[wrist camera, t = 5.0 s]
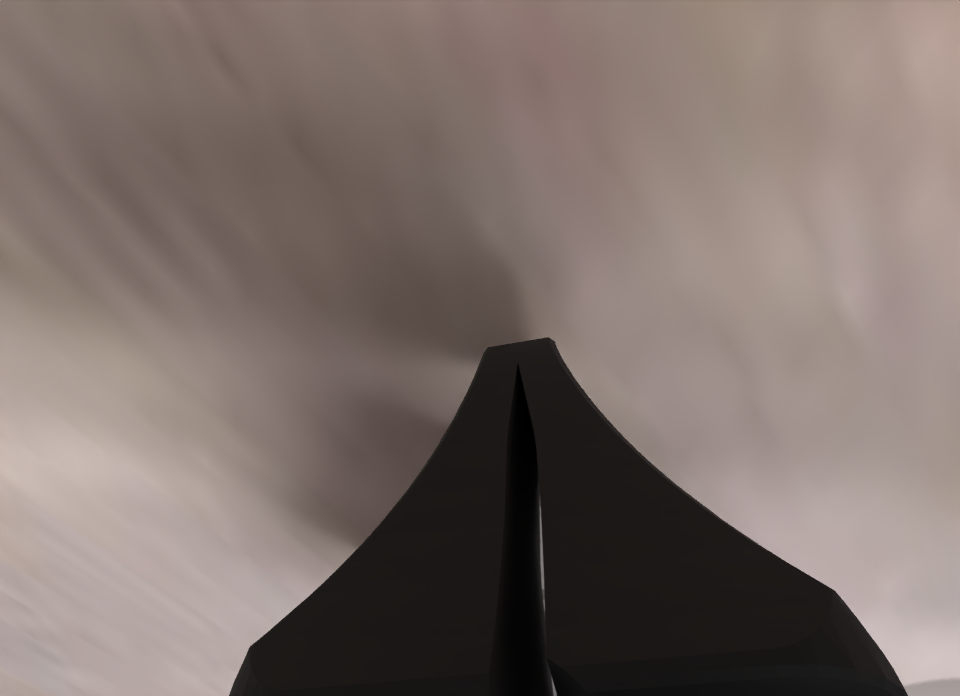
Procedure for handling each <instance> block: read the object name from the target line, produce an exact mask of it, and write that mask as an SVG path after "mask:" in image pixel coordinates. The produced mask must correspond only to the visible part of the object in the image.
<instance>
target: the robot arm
mask: <svg viewBox="0 0 960 696" xmlns="http://www.w3.org/2000/svg"><path fill="white" fill-rule="evenodd" d="M540 508H541V524H542V545H543V567H544V597H545V613H544V603H543V594H542V582H541V563H540ZM551 676H552V677H551ZM552 679H553V683H554V686H555V690H556V693H557V696H908V695H907V693H906V691H905V689H904V687H903V685H902V683H901V682H900V680H899V678H898V676H897V674H896V672H895V671H894V669H893V667H892V666H891V664H890V663H889V661H888V660H887V658H886V657H885V655H884V654H883V652H882V651H881V650H880V648H879V647H878V645H877V644H876V643H875V641H874V640H873V639H872V637H871V636H870V635H869V633H868V632H867V631H866V629H865V628H864V627H863V625H862V624H861V623H860V621H859V620H858V619H857V617H856V616H855V615H854V614H853V612H852V611H851V610H850V609H849V607H848V606H847V605H846V604H845V602H844V601H843V600H842V599H841V597H840V596H839V595H838V594H837V593H836V591H834V590H833V589H831V588H829V587H828V586H826V585H824V584H823V583H821V582H819V581H818V580H816V579H814V578H812V577H811V576H809V575H807V574H806V573H804V572H802V571H801V570H799V569H797V568H796V567H794V566H792V565H791V564H789V563H787V562H786V561H784V560H782V559H781V558H779V557H778V556H776V555H774V554H773V553H771V552H770V551H768V550H766V549H765V548H763V547H762V546H760V545H759V544H757V543H756V542H754V541H753V540H751V539H750V538H748V537H747V536H745V535H744V534H742V533H741V532H739V531H738V530H736V529H735V528H734V527H732V526H731V525H729V524H728V523H726V522H725V521H723V520H722V519H721V518H719V517H718V516H717V515H715V514H714V513H713V512H711V511H710V510H709V509H707V508H706V507H705V506H703V505H702V504H701V503H699V502H698V501H697V500H695V499H694V498H693V497H692V496H690V495H689V494H688V493H686V492H685V491H684V490H682V489H681V488H680V487H678V486H677V485H676V484H675V483H673V482H672V481H671V480H670V479H669V478H667V477H666V476H665V475H664V474H663V473H662V472H661V471H659V470H658V469H657V468H656V467H655V466H654V465H652V464H651V463H650V462H649V461H648V460H647V459H646V458H645V457H644V456H643V455H642V454H641V453H639V452H638V451H637V450H636V449H635V448H634V447H633V446H632V445H631V444H630V443H629V442H628V441H627V440H626V439H625V438H624V437H623V436H622V435H621V434H620V433H619V432H618V431H617V430H616V428H615V427H614V426H613V425H612V424H611V423H610V422H609V421H608V420H607V418H606V417H605V416H604V415H603V414H602V413H601V412H600V410H599V409H598V408H597V407H596V406H595V404H594V403H593V402H592V401H591V399H590V398H589V397H588V395H587V394H586V393H585V392H584V390H583V389H582V388H581V386H580V385H579V384H578V382H577V381H576V379H575V378H574V377H573V375H572V374H571V372H570V370H569V369H568V367H567V366H566V364H565V363H564V361H563V359H562V357H561V355H560V353H559V351H558V349H557V347H556V344H555V341H553V340H552V339H550V338H549V337H548V338H542V339H536V340H530V341H524V342H518V343H512V344H506V345H500V346H494V347H488V348H487V349H486V350H485V352H484V353H483V356H482V359H481V361H480V364H479V366H478V369H477V371H476V374H475V376H474V378H473V381H472V383H471V385H470V387H469V389H468V392H467V394H466V396H465V397H464V399H463V401H462V403H461V405H460V407H459V409H458V411H457V413H456V415H455V417H454V419H453V421H452V423H451V424H450V426H449V428H448V429H447V431H446V433H445V434H444V436H443V438H442V439H441V441H440V443H439V444H438V446H437V448H436V450H435V451H434V453H433V454H432V456H431V457H430V459H429V460H428V462H427V463H426V465H425V466H424V468H423V469H422V471H421V472H420V474H419V475H418V476H417V478H416V479H415V481H414V482H413V483H412V485H411V486H410V487H409V489H408V490H407V491H406V493H405V494H404V495H403V497H402V498H401V499H400V500H399V501H398V503H397V504H396V505H395V506H394V508H393V509H392V510H391V511H390V513H389V514H388V515H387V516H386V517H385V519H384V520H383V521H382V522H381V523H380V525H379V526H378V527H377V528H376V529H375V530H374V532H373V533H372V534H371V535H370V536H369V537H368V538H367V539H366V540H365V542H364V543H363V544H362V545H361V546H360V547H359V548H358V549H357V550H356V551H355V552H354V553H353V554H352V555H351V556H350V557H349V558H348V559H347V560H346V561H345V562H344V563H343V564H342V565H341V566H340V567H339V568H338V569H337V570H336V571H335V572H334V573H333V574H332V575H331V576H330V577H329V578H328V579H327V580H326V581H325V582H324V583H323V584H322V585H321V586H320V587H319V588H317V589H316V590H315V591H314V592H313V593H312V594H311V595H310V596H309V597H308V598H307V599H305V600H304V601H303V602H302V603H301V604H300V605H298V606H297V607H296V608H295V609H294V610H293V611H292V612H290V613H289V614H288V615H287V616H286V617H285V618H283V619H282V620H281V621H280V622H279V623H278V624H277V625H275V626H274V627H273V628H272V629H271V630H270V631H268V632H267V633H266V634H265V635H264V636H263V637H261V638H260V639H259V640H258V641H257V642H255V643H254V644H253V645H252V646H250V648H249V650H248V652H247V655H246V657H245V659H244V662H243V664H242V666H241V668H240V670H239V673H238V675H237V677H236V679H235V681H234V684H233V687H232V689H231V692H230V695H229V696H554V695H553V686H552Z"/></svg>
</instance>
